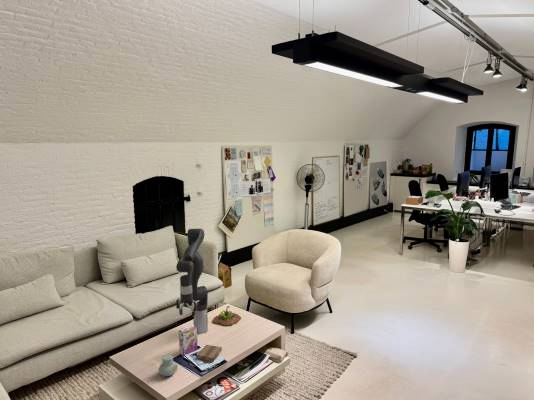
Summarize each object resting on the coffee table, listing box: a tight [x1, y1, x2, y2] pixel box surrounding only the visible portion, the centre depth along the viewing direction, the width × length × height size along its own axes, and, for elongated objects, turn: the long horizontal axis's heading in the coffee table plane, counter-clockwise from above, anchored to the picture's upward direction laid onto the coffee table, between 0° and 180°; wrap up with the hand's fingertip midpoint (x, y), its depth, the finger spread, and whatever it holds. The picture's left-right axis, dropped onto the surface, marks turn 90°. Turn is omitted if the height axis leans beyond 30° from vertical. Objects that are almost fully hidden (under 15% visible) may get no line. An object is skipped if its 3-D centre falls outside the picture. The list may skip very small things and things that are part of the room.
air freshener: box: [158, 354, 179, 377], centre depth 221 cm, size 11×8×10 cm
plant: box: [212, 305, 242, 327], centre depth 287 cm, size 20×20×11 cm
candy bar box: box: [178, 324, 198, 357], centre depth 243 cm, size 11×5×16 cm, turn 134°
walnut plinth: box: [196, 344, 223, 363], centre depth 240 cm, size 11×13×3 cm
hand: (187, 315), depth 241 cm, fingers open, 8 cm apart
